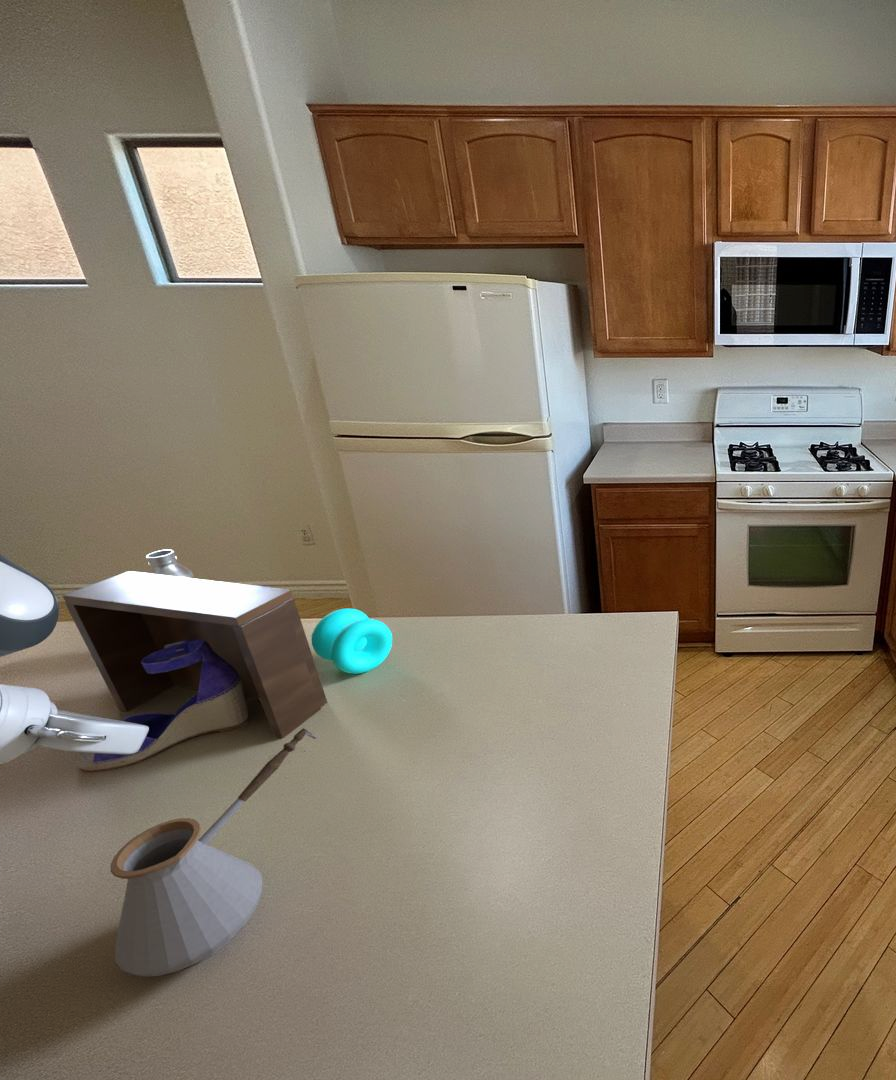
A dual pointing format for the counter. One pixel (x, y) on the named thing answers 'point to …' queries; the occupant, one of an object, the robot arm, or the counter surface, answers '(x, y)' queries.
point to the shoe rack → (200, 613)
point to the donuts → (352, 640)
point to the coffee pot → (185, 890)
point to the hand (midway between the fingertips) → (127, 732)
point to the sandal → (199, 715)
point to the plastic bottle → (167, 564)
